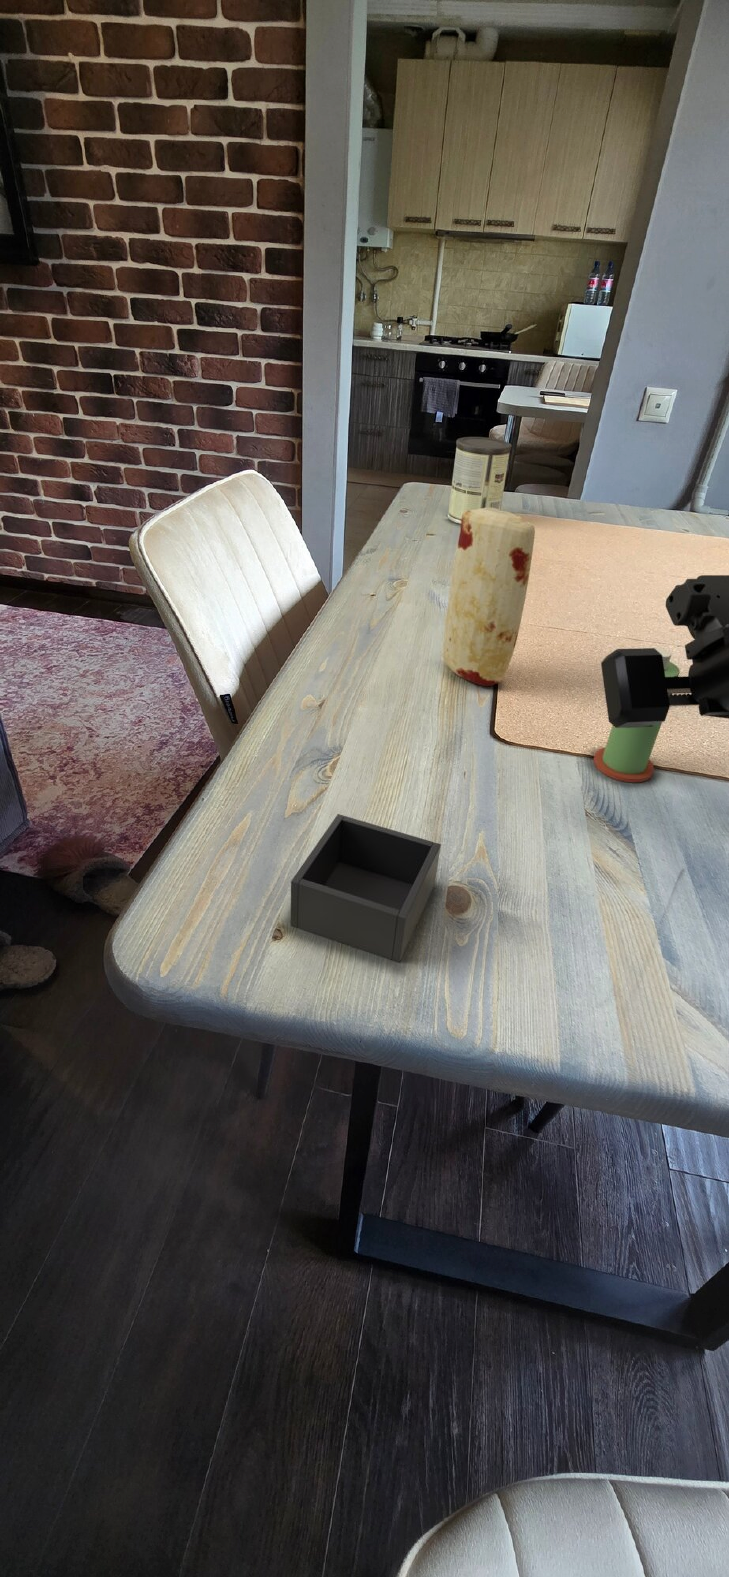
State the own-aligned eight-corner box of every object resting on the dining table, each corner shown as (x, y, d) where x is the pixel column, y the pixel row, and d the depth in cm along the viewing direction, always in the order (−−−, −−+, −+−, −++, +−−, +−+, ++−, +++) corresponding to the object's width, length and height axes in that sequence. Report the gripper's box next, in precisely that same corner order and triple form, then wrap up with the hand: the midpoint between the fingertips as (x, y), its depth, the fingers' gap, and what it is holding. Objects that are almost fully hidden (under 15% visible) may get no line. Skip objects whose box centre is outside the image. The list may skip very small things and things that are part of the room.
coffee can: (455, 508, 151) (465, 434, 143) (504, 517, 149) (517, 441, 140) (440, 521, 144) (449, 442, 135) (491, 530, 141) (504, 451, 133)
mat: (658, 762, 78) (660, 758, 77) (644, 789, 73) (645, 785, 73) (603, 744, 80) (604, 740, 80) (586, 769, 76) (587, 765, 75)
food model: (426, 670, 91) (447, 503, 80) (459, 655, 96) (484, 494, 84) (490, 700, 86) (523, 527, 74) (522, 682, 90) (558, 516, 79)
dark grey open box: (433, 888, 60) (441, 843, 57) (399, 965, 53) (405, 918, 50) (335, 858, 62) (337, 813, 59) (290, 927, 55) (290, 881, 53)
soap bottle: (651, 775, 75) (692, 664, 67) (608, 773, 74) (644, 660, 67) (638, 751, 78) (675, 643, 71) (597, 749, 78) (630, 640, 71)
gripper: (861, 555, 58) (731, 629, 73) (645, 554, 54) (555, 632, 70) (888, 692, 56) (748, 738, 71) (667, 700, 53) (569, 747, 68)
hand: (657, 711), depth 70 cm, fingers open, 9 cm apart
